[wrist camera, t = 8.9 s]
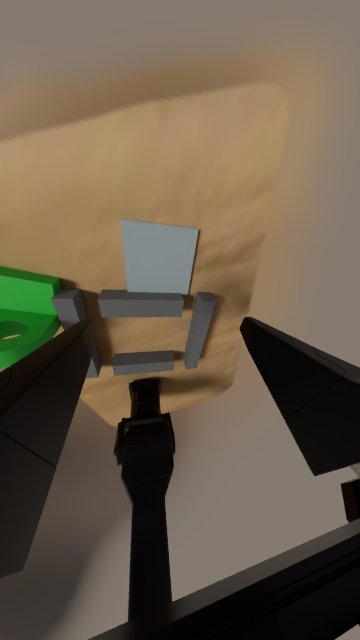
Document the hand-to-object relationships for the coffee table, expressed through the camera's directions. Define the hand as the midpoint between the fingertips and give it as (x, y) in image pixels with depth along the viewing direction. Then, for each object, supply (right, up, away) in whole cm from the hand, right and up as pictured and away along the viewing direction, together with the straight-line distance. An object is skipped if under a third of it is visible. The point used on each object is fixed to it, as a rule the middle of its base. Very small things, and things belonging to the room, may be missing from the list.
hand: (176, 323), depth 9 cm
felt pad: (-2, +7, +9) cm, 12 cm away
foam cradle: (-6, -2, +15) cm, 16 cm away
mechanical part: (-20, +4, +8) cm, 22 cm away
